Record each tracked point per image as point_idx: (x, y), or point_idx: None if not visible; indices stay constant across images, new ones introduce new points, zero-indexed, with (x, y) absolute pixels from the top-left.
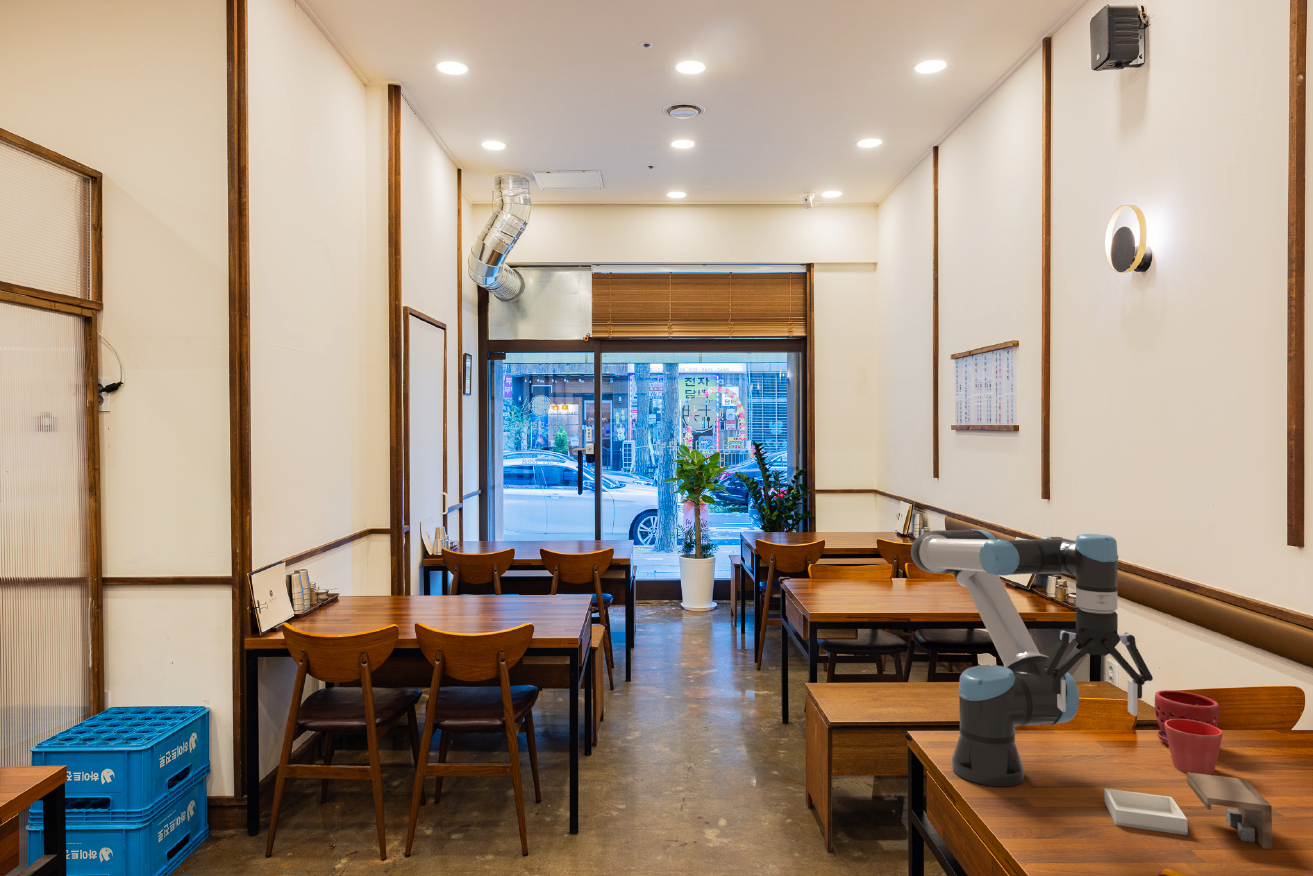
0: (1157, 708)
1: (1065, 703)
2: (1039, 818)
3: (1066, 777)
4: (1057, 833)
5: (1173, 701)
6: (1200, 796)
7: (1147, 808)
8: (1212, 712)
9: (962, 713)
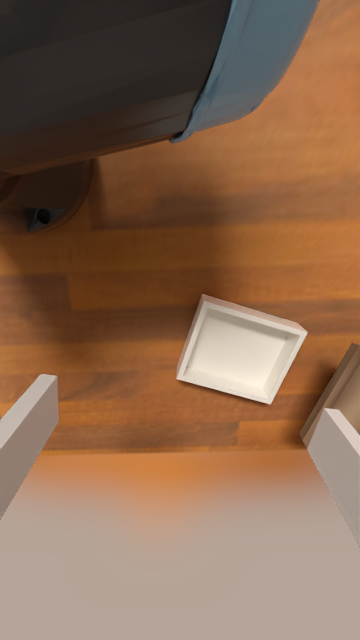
0: None
1: (41, 449)
2: (67, 349)
3: (187, 173)
4: (79, 389)
5: None
6: (317, 411)
7: (257, 324)
8: None
9: None
